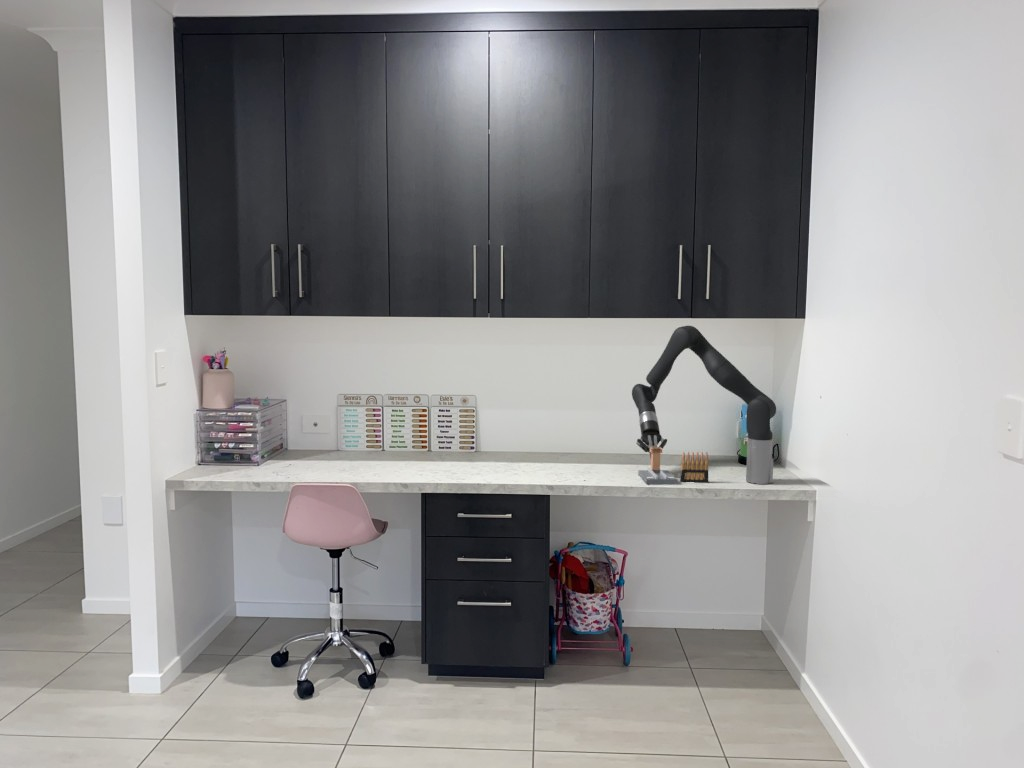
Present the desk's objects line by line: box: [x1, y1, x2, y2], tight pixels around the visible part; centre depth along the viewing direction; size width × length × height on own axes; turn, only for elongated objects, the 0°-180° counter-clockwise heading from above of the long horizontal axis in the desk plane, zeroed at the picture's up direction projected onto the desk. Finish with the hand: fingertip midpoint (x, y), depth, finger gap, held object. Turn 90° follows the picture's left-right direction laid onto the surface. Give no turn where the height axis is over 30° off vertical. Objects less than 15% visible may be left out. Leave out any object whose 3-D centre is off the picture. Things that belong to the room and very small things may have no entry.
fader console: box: [638, 467, 679, 485], centre depth 315 cm, size 12×16×3 cm
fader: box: [650, 446, 663, 473], centre depth 318 cm, size 4×3×10 cm
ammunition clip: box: [679, 451, 709, 484], centre depth 311 cm, size 11×2×12 cm, turn 86°
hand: (654, 459), depth 320 cm, fingers closed
